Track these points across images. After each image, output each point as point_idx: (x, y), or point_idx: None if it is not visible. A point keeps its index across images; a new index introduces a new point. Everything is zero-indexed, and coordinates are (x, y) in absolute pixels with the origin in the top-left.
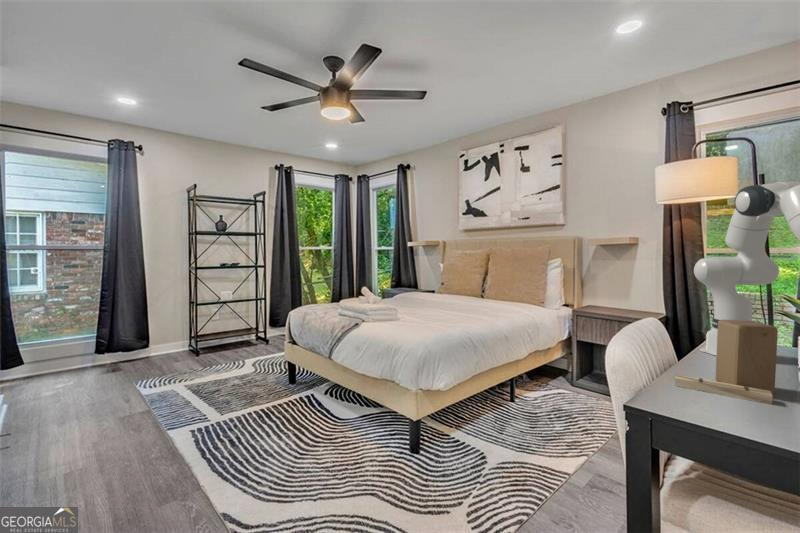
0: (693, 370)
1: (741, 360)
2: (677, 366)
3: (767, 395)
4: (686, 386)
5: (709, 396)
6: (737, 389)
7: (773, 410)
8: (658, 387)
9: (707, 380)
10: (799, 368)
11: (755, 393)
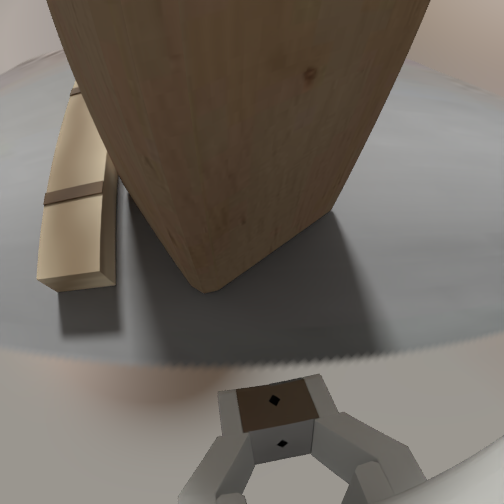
0: None
1: (73, 74)
2: None
3: (39, 264)
4: None
5: (39, 142)
6: (51, 174)
7: (2, 295)
8: (59, 65)
9: None
10: (295, 386)
11: (43, 227)
